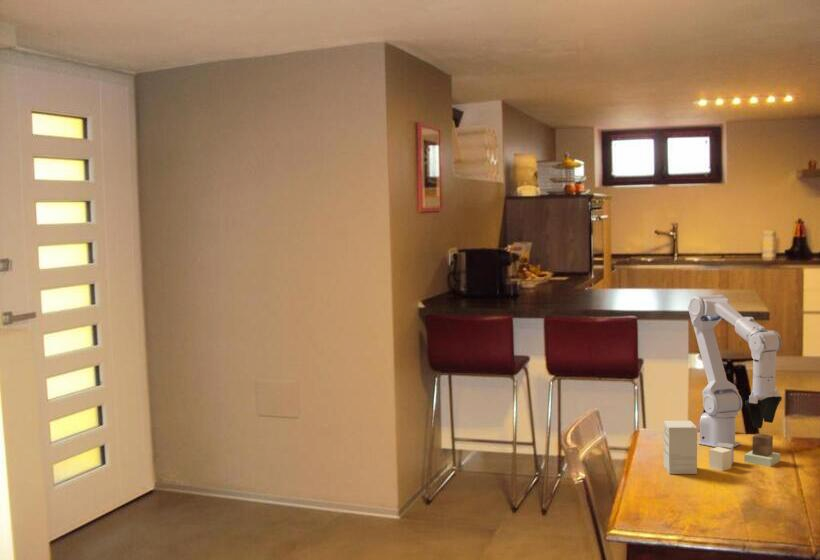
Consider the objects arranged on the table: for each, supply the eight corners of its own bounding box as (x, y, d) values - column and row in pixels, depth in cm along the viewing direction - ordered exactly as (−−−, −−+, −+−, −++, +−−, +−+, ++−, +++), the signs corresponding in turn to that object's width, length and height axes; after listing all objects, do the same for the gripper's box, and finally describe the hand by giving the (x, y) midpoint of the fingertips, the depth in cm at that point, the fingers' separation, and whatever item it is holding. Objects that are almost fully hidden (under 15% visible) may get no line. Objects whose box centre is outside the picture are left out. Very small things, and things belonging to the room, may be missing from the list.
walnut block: (752, 454, 235) (752, 436, 235) (757, 451, 238) (757, 433, 238) (767, 456, 232) (767, 438, 232) (772, 453, 235) (772, 435, 235)
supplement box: (690, 466, 232) (691, 420, 231) (697, 474, 224) (698, 427, 223) (662, 465, 233) (663, 419, 231) (668, 474, 225) (668, 426, 224)
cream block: (709, 467, 231) (709, 449, 230) (718, 464, 233) (718, 446, 232) (722, 471, 227) (722, 452, 227) (731, 468, 230) (731, 450, 229)
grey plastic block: (715, 464, 234) (716, 445, 233) (718, 460, 237) (718, 442, 237) (731, 466, 232) (731, 447, 231) (733, 462, 235) (733, 444, 235)
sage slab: (744, 463, 235) (744, 454, 235) (754, 457, 240) (754, 448, 240) (770, 468, 230) (770, 459, 230) (780, 462, 235) (780, 453, 235)
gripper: (768, 381, 225) (767, 432, 226) (789, 373, 236) (788, 422, 237) (741, 378, 230) (740, 428, 231) (763, 370, 240) (762, 417, 242)
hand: (762, 424), depth 234 cm, fingers open, 7 cm apart
